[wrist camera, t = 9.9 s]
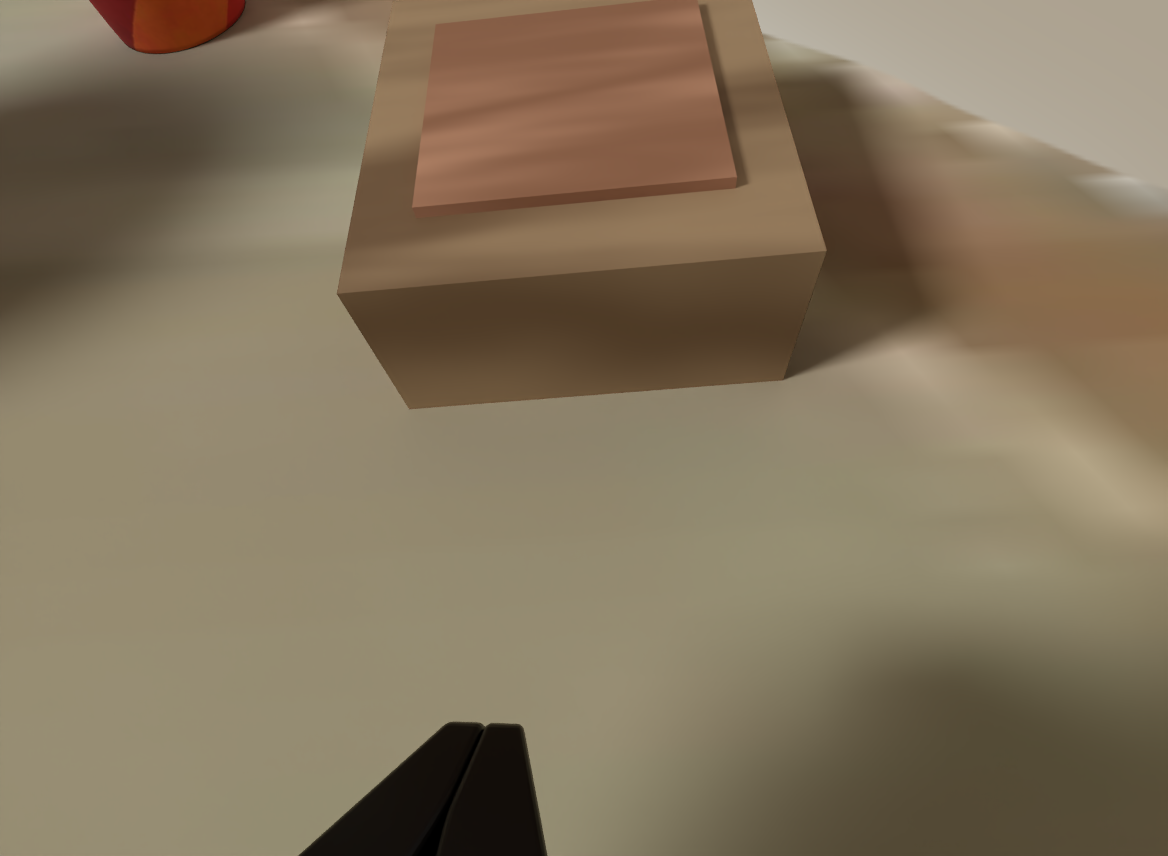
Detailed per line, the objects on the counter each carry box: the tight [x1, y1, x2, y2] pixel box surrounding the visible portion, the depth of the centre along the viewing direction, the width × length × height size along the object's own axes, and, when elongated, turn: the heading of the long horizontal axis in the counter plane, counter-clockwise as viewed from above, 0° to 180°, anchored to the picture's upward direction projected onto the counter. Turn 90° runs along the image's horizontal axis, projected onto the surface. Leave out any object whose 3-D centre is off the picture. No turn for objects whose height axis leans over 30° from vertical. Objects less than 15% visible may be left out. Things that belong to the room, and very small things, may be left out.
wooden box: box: [337, 0, 827, 409], centre depth 18 cm, size 5×10×11 cm
